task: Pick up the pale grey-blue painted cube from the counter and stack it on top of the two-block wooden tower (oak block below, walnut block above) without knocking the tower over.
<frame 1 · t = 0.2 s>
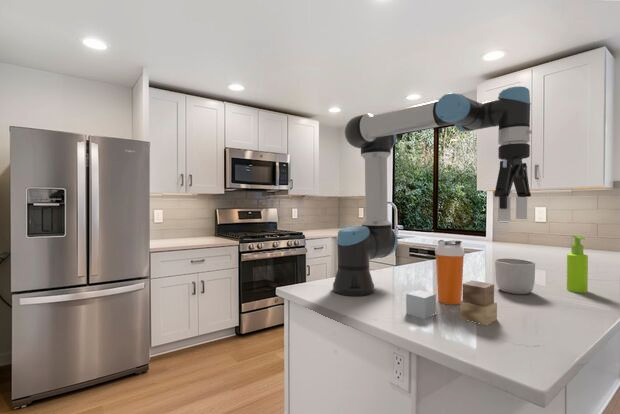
hand: (513, 220, 94), 28 cm above the counter, fingers open, 13 cm apart
soap dispenser: (577, 291, 120), on the counter
shaker bottle: (449, 302, 109), on the counter
grey-blue cube: (421, 314, 98), on the counter
oak block: (478, 319, 93), on the counter, touching walnut block
planter: (514, 291, 120), on the counter
walnut block: (478, 301, 93), point 5 cm above the counter, touching oak block
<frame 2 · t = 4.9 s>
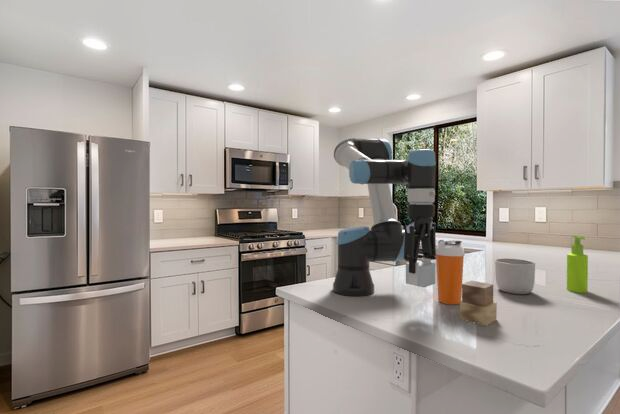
hand: (420, 281, 98), 9 cm above the counter, fingers closed on grey-blue cube, 6 cm apart
grey-blue cube: (420, 283, 98), point 9 cm above the counter, touching gripper
everything else where it was.
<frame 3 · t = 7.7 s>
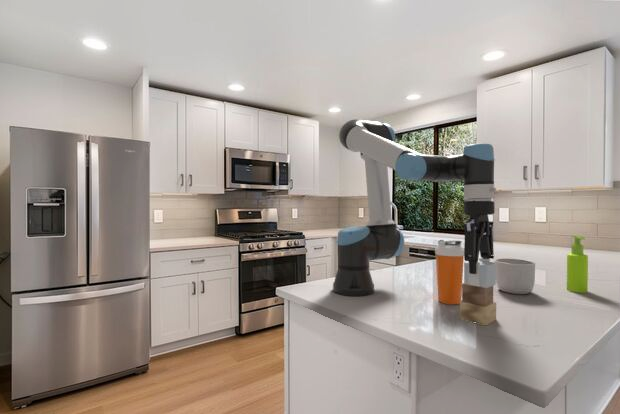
hand: (479, 283, 92), 10 cm above the counter, fingers closed on grey-blue cube, 6 cm apart
grey-blue cube: (479, 284, 92), point 10 cm above the counter, touching gripper, walnut block
walnut block: (477, 301, 93), point 5 cm above the counter, touching grey-blue cube, gripper, oak block
everything else where it was.
when the fingers open (10 cm above the counter, at t = 8.0 s): grey-blue cube stays where it is, resting on walnut block.
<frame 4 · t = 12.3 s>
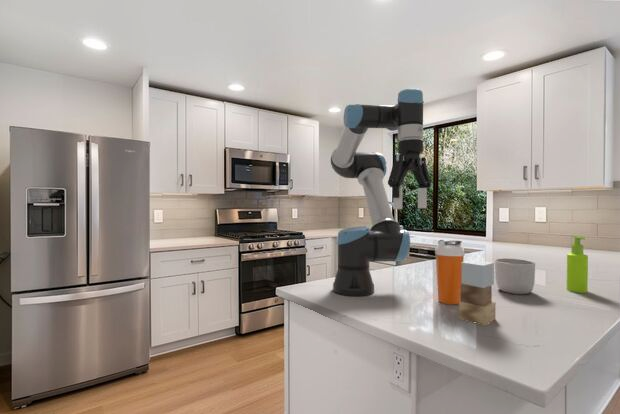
hand: (410, 208, 104), 31 cm above the counter, fingers open, 13 cm apart
grey-blue cube: (477, 284, 93), point 10 cm above the counter, touching walnut block
walnut block: (475, 301, 93), point 5 cm above the counter, touching grey-blue cube, oak block
everything else where it was.
at the end: grey-blue cube 0.4 cm off-centre on the walnut block, point 5.0 cm above the walnut block's base; walnut block tilted 0°; oak block moved 0.4 cm from its start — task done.
